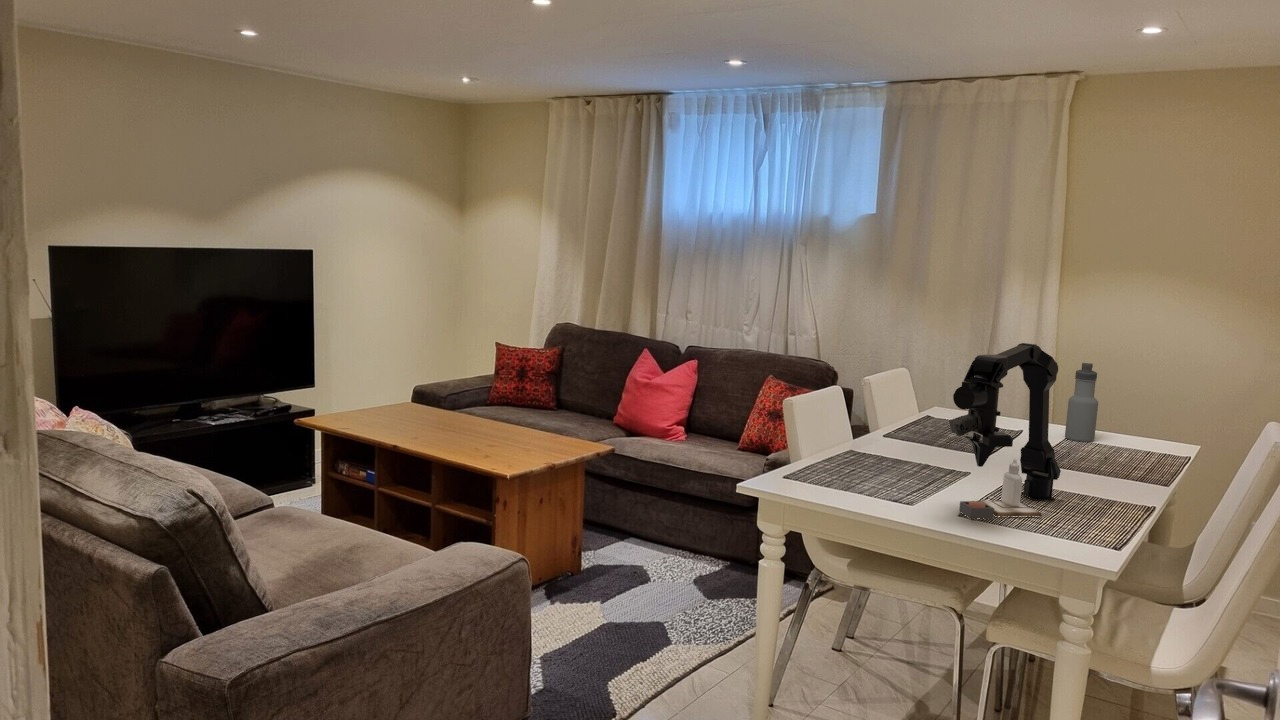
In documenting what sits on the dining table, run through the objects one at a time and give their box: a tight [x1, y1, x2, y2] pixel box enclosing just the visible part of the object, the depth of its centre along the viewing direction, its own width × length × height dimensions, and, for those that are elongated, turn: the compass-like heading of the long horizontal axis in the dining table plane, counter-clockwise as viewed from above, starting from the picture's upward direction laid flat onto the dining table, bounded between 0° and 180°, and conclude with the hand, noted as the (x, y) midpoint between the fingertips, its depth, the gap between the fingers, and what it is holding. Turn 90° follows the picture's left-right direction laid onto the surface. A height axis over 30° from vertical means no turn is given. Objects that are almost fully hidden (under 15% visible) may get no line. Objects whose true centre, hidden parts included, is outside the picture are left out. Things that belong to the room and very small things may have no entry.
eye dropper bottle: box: [1000, 458, 1023, 507], centre depth 240 cm, size 4×6×12 cm
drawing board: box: [981, 500, 1042, 517], centre depth 239 cm, size 12×11×2 cm
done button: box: [969, 500, 985, 508], centre depth 233 cm, size 4×4×2 cm
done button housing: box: [958, 500, 994, 520], centre depth 233 cm, size 6×6×3 cm
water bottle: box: [1064, 362, 1099, 443], centre depth 333 cm, size 10×10×28 cm
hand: (979, 466), depth 232 cm, fingers closed
